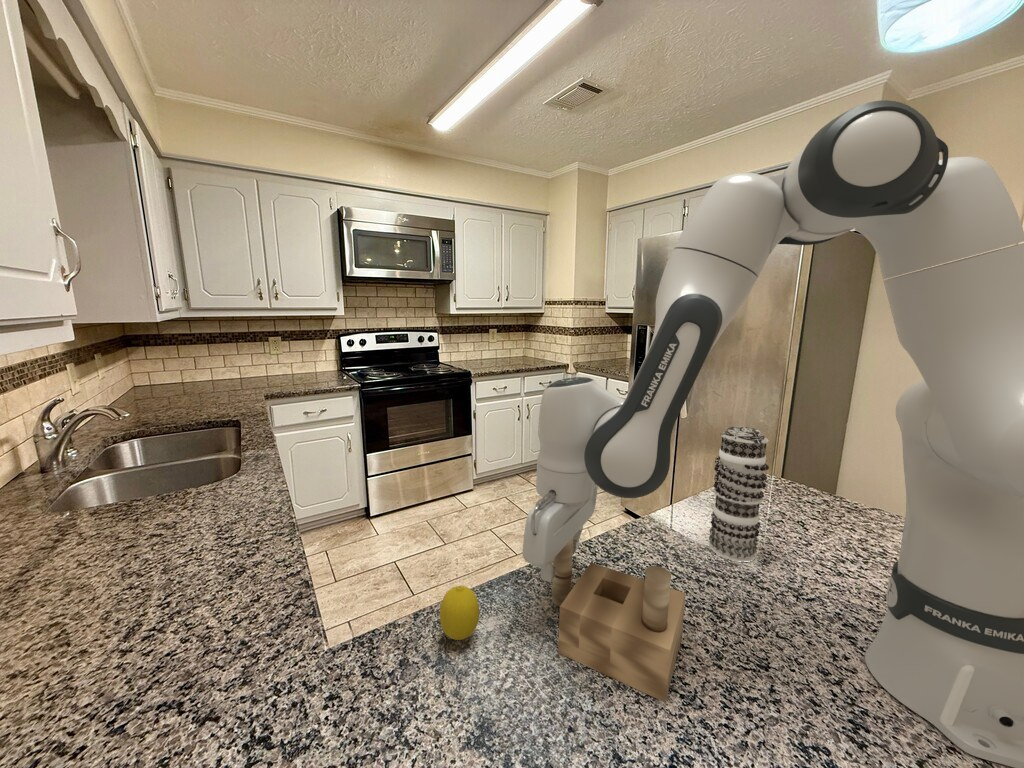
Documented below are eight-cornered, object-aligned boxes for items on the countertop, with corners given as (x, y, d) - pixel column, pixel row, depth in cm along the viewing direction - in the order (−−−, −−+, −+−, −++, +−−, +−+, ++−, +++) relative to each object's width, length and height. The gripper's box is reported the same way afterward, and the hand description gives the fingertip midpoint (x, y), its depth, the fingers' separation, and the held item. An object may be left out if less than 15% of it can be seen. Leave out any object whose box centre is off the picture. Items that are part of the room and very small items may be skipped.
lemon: (472, 657, 55) (472, 602, 54) (433, 649, 56) (433, 596, 55) (483, 627, 60) (484, 577, 59) (448, 621, 61) (447, 572, 60)
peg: (573, 598, 67) (576, 530, 65) (566, 609, 64) (569, 538, 62) (556, 592, 68) (558, 524, 67) (548, 602, 66) (550, 533, 64)
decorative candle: (758, 546, 84) (771, 427, 80) (759, 569, 76) (774, 438, 72) (708, 534, 88) (719, 421, 84) (704, 554, 80) (716, 431, 76)
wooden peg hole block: (681, 637, 59) (689, 547, 57) (665, 702, 49) (674, 595, 47) (589, 602, 66) (593, 521, 64) (558, 652, 56) (561, 558, 54)
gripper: (554, 512, 53) (550, 608, 55) (605, 466, 70) (600, 541, 72) (513, 500, 56) (510, 591, 58) (571, 459, 73) (567, 530, 76)
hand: (560, 563), depth 65 cm, fingers open, 8 cm apart
